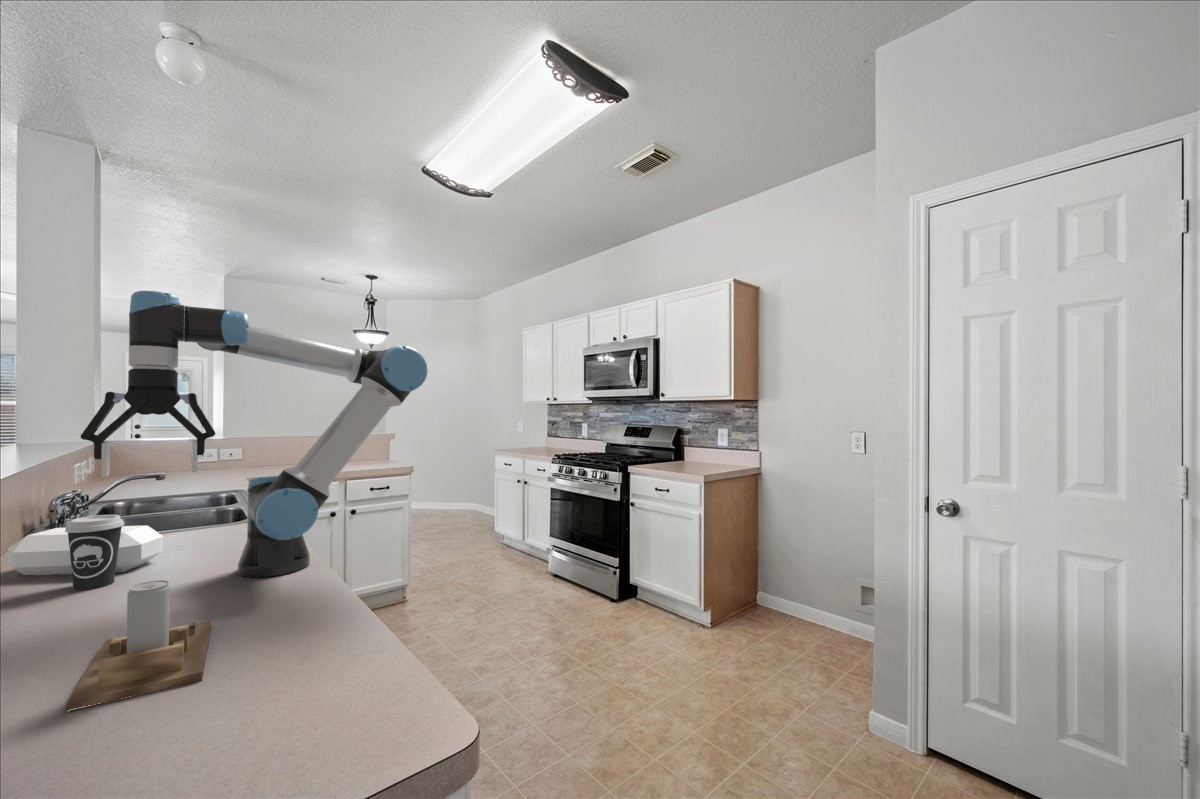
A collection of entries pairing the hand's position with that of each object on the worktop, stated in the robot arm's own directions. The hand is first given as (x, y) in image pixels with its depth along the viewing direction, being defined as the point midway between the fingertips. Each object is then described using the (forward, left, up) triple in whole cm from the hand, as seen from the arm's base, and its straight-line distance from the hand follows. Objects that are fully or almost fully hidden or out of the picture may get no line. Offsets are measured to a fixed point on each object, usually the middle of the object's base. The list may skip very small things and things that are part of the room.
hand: (151, 473), depth 102 cm
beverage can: (-4, +34, -26) cm, 43 cm away
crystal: (+16, -40, -27) cm, 51 cm away
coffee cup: (+12, -23, -27) cm, 37 cm away
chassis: (-4, +30, -27) cm, 40 cm away
